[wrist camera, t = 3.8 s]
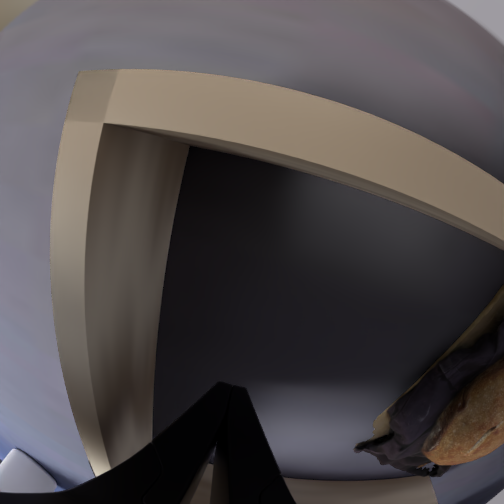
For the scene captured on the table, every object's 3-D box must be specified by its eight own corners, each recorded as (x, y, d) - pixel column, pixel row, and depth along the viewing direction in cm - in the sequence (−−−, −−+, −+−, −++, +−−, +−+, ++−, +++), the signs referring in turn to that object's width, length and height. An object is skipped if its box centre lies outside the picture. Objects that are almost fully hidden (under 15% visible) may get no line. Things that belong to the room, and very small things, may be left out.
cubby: (420, 480, 10) (434, 526, 7) (137, 447, 11) (109, 504, 7) (561, 265, 6) (615, 296, 3) (169, 113, 7) (78, 71, 3)
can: (53, 472, 16) (8, 544, 4) (62, 490, 17) (27, 551, 6) (8, 437, 16) (-40, 499, 4) (21, 460, 17) (-18, 515, 6)
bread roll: (509, 245, 7) (574, 274, 4) (546, 341, 8) (581, 373, 4) (327, 430, 10) (334, 500, 6) (416, 467, 11) (429, 512, 7)
